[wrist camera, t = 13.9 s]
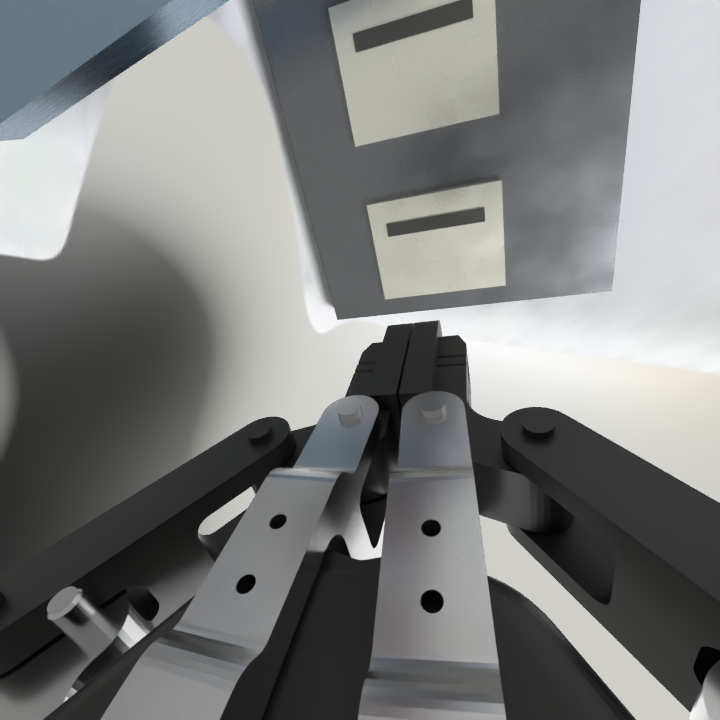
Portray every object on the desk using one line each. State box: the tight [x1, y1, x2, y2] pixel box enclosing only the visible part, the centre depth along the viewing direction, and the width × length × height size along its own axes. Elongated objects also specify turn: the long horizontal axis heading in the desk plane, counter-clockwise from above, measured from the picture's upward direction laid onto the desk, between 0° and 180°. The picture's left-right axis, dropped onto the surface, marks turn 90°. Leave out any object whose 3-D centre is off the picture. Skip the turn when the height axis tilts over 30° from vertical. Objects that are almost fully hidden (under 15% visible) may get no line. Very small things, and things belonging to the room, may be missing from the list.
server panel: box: [253, 0, 641, 320], centre depth 19 cm, size 16×19×6 cm
